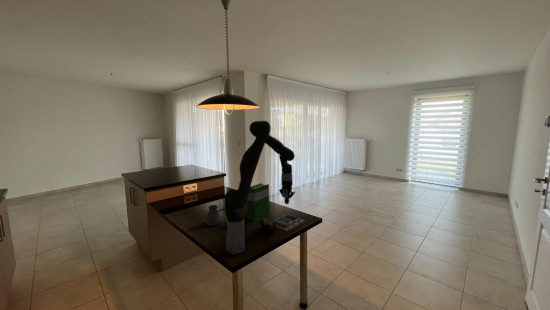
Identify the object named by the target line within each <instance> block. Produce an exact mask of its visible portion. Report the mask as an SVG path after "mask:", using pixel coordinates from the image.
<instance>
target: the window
mask: <svg viewBox="0 0 550 310" xmlns="http://www.w3.org/2000/svg"><path fill="white" fill-rule="evenodd" d="M304 222H305V220H302V219H301V217H298V216H294V215H291V214H285V215H282V216H280V217H278V218H276V219H273V220H272V223H273V224H274V225H276V229H279V230H282V231H285V232H290V231H291V230H293V229H294V228H296V227H297V226H299V225H301V224H303V223H304Z"/></svg>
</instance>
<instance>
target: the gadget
mask: <svg viewBox="0 0 550 310" xmlns="http://www.w3.org/2000/svg"><path fill="white" fill-rule="evenodd" d="M272 222H273V220H272V219H268V218H263V219H262V220H260V221H259V224H260V227H261V228H263V229H264V230H266V232H267V233H273V232H275V230H276V229H277V227H276V225H274V224H273V223H272Z"/></svg>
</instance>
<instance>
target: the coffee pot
mask: <svg viewBox="0 0 550 310" xmlns="http://www.w3.org/2000/svg"><path fill="white" fill-rule="evenodd" d="M218 208H219V206H218V205H216V204H213V205H212V204H211V205H209V206H208V209H209V210H208V213H207V215H206V217H205V220H204V223H205V225H206V226H209V227H216V226H218V225H220V224H221V223H222V222H223V218H222V216H221V215H220V212H221V211H225V207H224V208H223V207H222V208H221V209H218Z"/></svg>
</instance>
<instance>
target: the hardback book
mask: <svg viewBox="0 0 550 310" xmlns="http://www.w3.org/2000/svg"><path fill="white" fill-rule="evenodd" d="M268 213H269V214H270V184H269V183H267V184H263V183H257V184H255V185H251V186H250V191H249V195H248V199H247V202H246V217H247V218H246V219H247V220H250V221H253V222H256V221H258V220H260V219H261V218H263V217H265V216H267V215H268Z"/></svg>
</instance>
